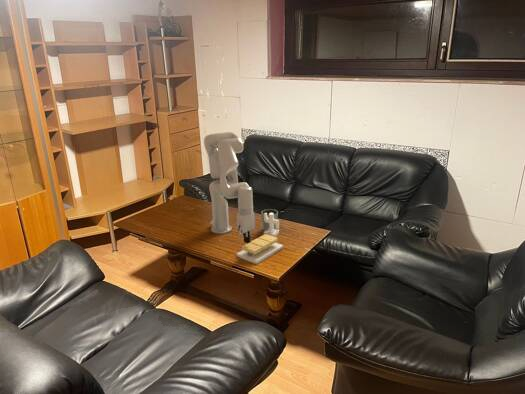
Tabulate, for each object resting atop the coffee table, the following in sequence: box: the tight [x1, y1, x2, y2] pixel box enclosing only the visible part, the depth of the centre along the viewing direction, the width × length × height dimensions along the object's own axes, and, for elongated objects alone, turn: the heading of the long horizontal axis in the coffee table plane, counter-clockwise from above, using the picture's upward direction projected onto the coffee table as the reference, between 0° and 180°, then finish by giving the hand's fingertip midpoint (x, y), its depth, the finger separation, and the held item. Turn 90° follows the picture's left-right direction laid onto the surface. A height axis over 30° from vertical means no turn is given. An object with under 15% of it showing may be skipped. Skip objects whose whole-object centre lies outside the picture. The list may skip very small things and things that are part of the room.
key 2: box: [250, 237, 270, 249], centre depth 212 cm, size 9×6×2 cm, turn 50°
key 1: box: [258, 233, 279, 245], centre depth 217 cm, size 9×6×2 cm, turn 50°
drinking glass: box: [260, 208, 279, 232], centre depth 238 cm, size 10×10×12 cm
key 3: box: [241, 243, 262, 255], centre depth 207 cm, size 9×6×2 cm, turn 50°
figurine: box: [263, 213, 280, 237], centre depth 228 cm, size 7×9×15 cm
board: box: [236, 242, 285, 265], centre depth 213 cm, size 14×23×4 cm, turn 140°
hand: (247, 242), depth 208 cm, fingers closed
